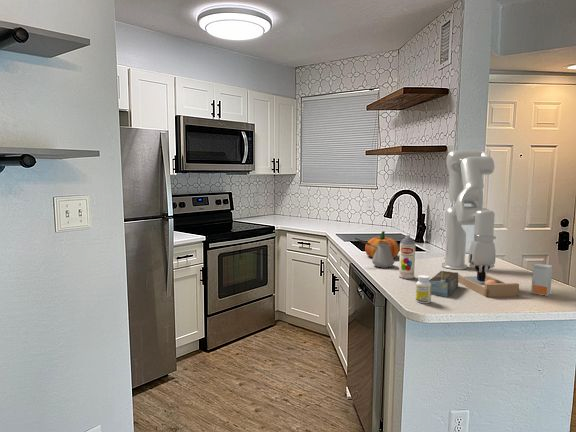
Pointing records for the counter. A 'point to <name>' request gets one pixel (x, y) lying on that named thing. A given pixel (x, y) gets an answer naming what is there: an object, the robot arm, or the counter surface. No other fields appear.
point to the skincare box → (541, 279)
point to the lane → (490, 287)
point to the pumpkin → (371, 250)
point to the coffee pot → (381, 254)
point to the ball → (490, 282)
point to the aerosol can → (407, 258)
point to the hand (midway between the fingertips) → (481, 280)
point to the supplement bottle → (423, 289)
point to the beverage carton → (444, 283)
